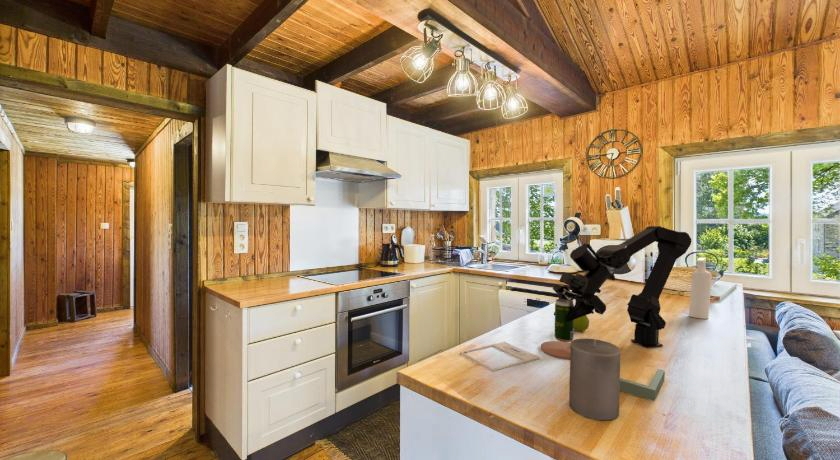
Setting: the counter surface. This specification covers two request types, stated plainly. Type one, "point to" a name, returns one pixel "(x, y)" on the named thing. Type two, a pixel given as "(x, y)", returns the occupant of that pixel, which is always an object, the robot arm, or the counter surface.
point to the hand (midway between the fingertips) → (560, 318)
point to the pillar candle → (594, 379)
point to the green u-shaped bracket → (644, 386)
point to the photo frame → (508, 349)
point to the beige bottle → (700, 291)
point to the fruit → (581, 323)
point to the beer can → (563, 320)
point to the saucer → (557, 349)
